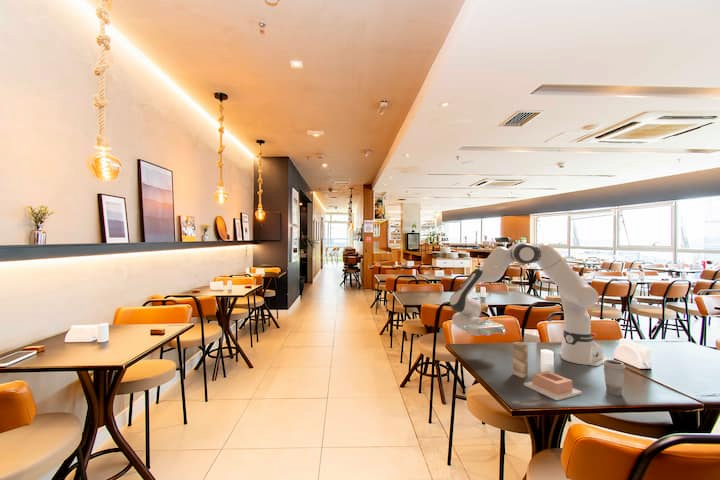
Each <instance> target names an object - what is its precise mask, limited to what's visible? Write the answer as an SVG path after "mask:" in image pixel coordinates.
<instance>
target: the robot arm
mask: <svg viewBox="0 0 720 480" xmlns="http://www.w3.org/2000/svg"><path fill="white" fill-rule="evenodd" d="M514 262H515V263H517V264H521V265H528V264H532V263H536V264H538V266H539V267H540V269H541V270H542V271H543V272H544V274H545V275H546V276H547V277H548V278H549V280H550V281H551V282H552V283H554V284H555V285H556V286H557V287H558V290H557V293H558V295H559V297H560V301H561V305H562V309H563V320H564V325H563V327H564V328H563V332H562V333H563V335H562V336H563V339H561V348H560V351H559V353H558V354H559V356H560V358H561V359H562V360H564V361H566V362H570V363H573V364H579V365H585V366H587V365H588V366H594V367H598V366H600V365H603V364H602V363H603V362H604V360H610V359H609V357H606V356H604V355H603V353H604V352H603V348H602V347H601V346H600V345H599V344H598V343H596V342H595V341H594V338H596V337H597V333H594V332H592V331H591V326H592V325H591V324H592V322H591V321H592V320H591V316H590V314H589V312H588V307H592V306H595V305H596V304H597V303H598V301H599V293H598V292H597V290H596V289H595V288H593V287H592V286H591V285H590V284H589V283H588V282H587V281H586V280H585V279H584V278H583V277H582V276H580V275H579V273H577V272H576V271H575V270H574V269H573V268H572V266H571V265H570V264H569V263H567V261H566V260H565V259H564V257H562V255H561V253H559V252H558V251H557V250H556V249H555V248H554V247H553V246H552V245H550V244H549V243H547V242H545V243H544V242H543V243H542V242H541V243H539V244H536V245H534V244H531V243H527V242H516V243H513V244H511V245H510V246H508V247H505V246H496V247H495V248H494V249H493V250H491V252H490V253H489V255H488V256H487V257H486V259H485V261H484V262H483V264H482V265H481V266H480V267H478V268H476V269H474V270H473V271H472V272H471V273H470V274H469V276H468V277H467V278H466V279H465V280H464V282H462V284H461V285H460V287H459V288H458V289H457V291H455V292H454V293H453V294H452V295H451V296H450V298H449V306H450V308H451V310H452V311H454V312H456V313H453V315H452V317H451V321H452V324H453V325H454V327H456V328H457V329H459V330H461V331H462V332H463V331H464V332H466V333H467V334H469V335H471V336H487V337H490V336H491V335H493V334H502V335H505V334H506V333H507V331H506V330H505V326H504V325H503V324H501V323H499V322H497V321H493V320H492V319H490V318H480V317H481V315H482V312H483V307H482V306H483V305H482V303H481V302H480V300H477V299H475V298H472V297H470V296H469V295H470V294H471V292H472V291H473V290H474V289H475V287H476V286H477V285H478V284H480V283H486V282H487V283H494V282H497V281H499V280H500V279H501V278H502V277H503V276H504V274H505V273H506V271H507V269H508V267H509V266H510V265H511V264H512V263H514Z"/></svg>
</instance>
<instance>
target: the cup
mask: <svg viewBox="0 0 720 480" xmlns="http://www.w3.org/2000/svg"><path fill="white" fill-rule="evenodd" d="M601 365H603V374H604V383H605V388H606V389H605V390H606V393H608V394H609V395H611V396H612V395H613V396H616V397H619V396H620V397H621V396H622V394H623V386H624V380H625V378H624V377H625V371H624V370H625V369H626V365H624V362H622V361H618V360H615V359H609V360H604V362H603V363H602V364H601Z"/></svg>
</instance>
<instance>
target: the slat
mask: <svg viewBox="0 0 720 480" xmlns="http://www.w3.org/2000/svg"><path fill="white" fill-rule="evenodd" d="M528 346H529V345H528V344H526V343H523V342H520V341H515V342H512V365H513V366H512V374H513V375H514V376H516V377H519V378H521V379H526V378H528V377H529V376H528V375H529V373H528V372H529V371H528V366H529V364H528V363H529V362H528V360H529V359H528V350H529V348H528Z"/></svg>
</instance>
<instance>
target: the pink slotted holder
mask: <svg viewBox="0 0 720 480" xmlns="http://www.w3.org/2000/svg"><path fill="white" fill-rule="evenodd" d="M523 384H524V386H525V387H527V388H529V389H531V390H533V391H536V392H537V393H540V394H542V395H544V396H545V397H548V398H551V399H552V400H555V401H561V400H564V399H567V398H573V397H576V396H581V395H582V394H583V393H582V391H581V390H579V389H577V388H573V379H570V378H567V377H564V376H561V375H560V374H557V373H555V372H552V371H549V370H545V371H539V372H534V373H532V381H528V382H524V383H523Z"/></svg>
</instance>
